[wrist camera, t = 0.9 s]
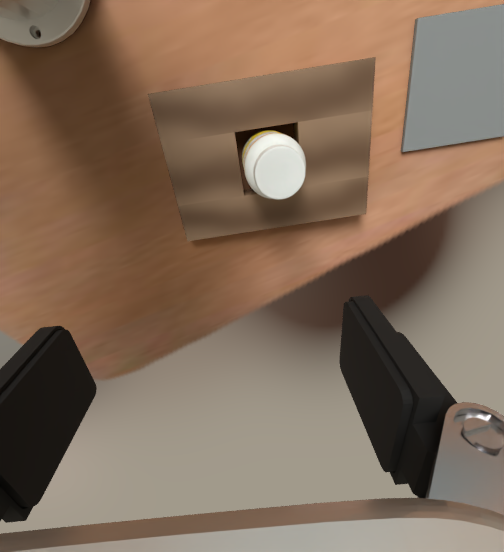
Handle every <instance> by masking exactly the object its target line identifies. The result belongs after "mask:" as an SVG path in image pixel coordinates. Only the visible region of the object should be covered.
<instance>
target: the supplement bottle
mask: <svg viewBox="0 0 504 552" xmlns="http://www.w3.org/2000/svg"><path fill="white" fill-rule="evenodd" d="M242 165H243V168H244V173H245V176H246V179H247V182H248V184H249V185H250V187H251V188H252V189H253V190H254V191H255V192H256V193H257V194H259V195H260V196H263V197H265V198H269V199H285V198H288V197H290V196H292V195H294V194H295V193H296V192H297V191H298V190H299V189H300V188H301V186H302V184H303V182H304V179H305V170H306V160H305V155H304V152H303V150H302V148H301V147H300V145H299V144H298V143H297V142H296V141H295V140H294V139H293V138H291V137H289V136H287V135H285V134H282V133H280V132H277V131H274V130H261V131H259V132H256V133H255V134H253V135H252V136H251V137H250V138H249V139H248V140H247V142H246V144H245V145H244V148H243V152H242Z"/></svg>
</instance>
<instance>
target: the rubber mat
mask: <svg viewBox="0 0 504 552" xmlns="http://www.w3.org/2000/svg"><path fill="white" fill-rule="evenodd" d="M502 136H504V4H502V5H496V6H490V7H484V8H477V9H471V10H465V11H459V12H453V13H447V14H441V15H435V16H429V17H422V18H417V19H416V20H415V28H414V38H413V47H412V56H411V65H410V74H409V83H408V92H407V101H406V110H405V120H404V129H403V138H402V147H401V152H406V151H412V150H419V149H425V148H432V147H438V146H444V145H451V144H457V143H463V142H470V141H476V140H483V139H489V138H495V137H502Z"/></svg>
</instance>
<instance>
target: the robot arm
mask: <svg viewBox="0 0 504 552" xmlns="http://www.w3.org/2000/svg"><path fill="white" fill-rule="evenodd" d="M89 4H90V0H0V39H3V40H5V41H7V42H11V43H14V44H17V45H20V46H28V47H35V48H36V47H46V46H51V45H54V44H57V43H59V42H62V41H63V40H65V39H66V38H67V37H69V36H70V35H72V34H73V33H74V32H75V30H76V29H77V28H78V27H79V25H80V24H81V23H82V21H83V19H84V17H85V15H86V12H87V10H88V8H89ZM40 31H41V37H40V36H39V32H40ZM341 337H342V338H341V349H340V368H341V371H342V374H343V376H344V378H345V381H346V383H347V386H348V388H349V390H350V393H351V395H352V397H353V400H354V402H355V405H356V407H357V410H358V412H359V414H360V417H361V419H362V422H363V424H364V426H365V429H366V431H367V433H368V436H369V438H370V440H371V443H372V446H373V448H374V450H375V453H376V455H377V458H378V460H379V462H380V465H381V467H382V468H383V470H384V471H385V472H390V474H391V476H392V478H393V480H394V483H395V485H397V484H407V483H408V484H409V486H410V488H411V490H412V492H413V494H415V495H417V496H418V497H417V498H391V499H390V498H388V499H369V500H355V501H341V502H327V503H314V504H303V505H292V506H281V507H270V508H259V509H248V510H237V511H227V512H215V513H205V514H194V515H184V516H173V517H163V518H152V519H143V520H133V521H122V522H112V523H101V524H92V525H81V526H72V527H61V528H52V529H43V530H33V531H23V532H13V533H3V534H0V552H504V416H503V415H502V414H500V413H498V412H497V411H495V410H492V409H490V408H488V407H486V406H483V405H479V404H476V403H468V402H462V403H457V402H456V401H455V399H454V398H453V397H452V396H451V394H450V393H449V392H448V391H447V389H446V388H445V387H444V385H443V384H442V383H441V382H440V380H439V379H438V378H437V377H436V375H435V374H434V373H433V372H432V370H431V369H430V368H429V366H428V365H427V364H426V362H425V361H424V360H423V359H422V357H421V356H420V355H419V354H418V352H417V351H416V350H415V348H414V347H413V346H412V345H411V344H410V342H409V341H408V340H407V338H406V337H405V336H404V335H403V334H402V333H400V332H396V331H395V330H394V328H393V327H392V325H391V324H390V323H389V322H388V320H387V319H386V318H385V316H384V315H383V314H382V312H381V311H380V310H379V308H378V307H377V306H376V304H375V303H374V302H373V300H372V299H371V298H370V297H369V296H358V297H357V296H356V297H351V298H350V299H349V302H345V303H344V309H343V323H342V336H341ZM95 394H96V384H95V382H94V380H93V378H92V376H91V374H90V372H89V370H88V368H87V366H86V364H85V362H84V360H83V358H82V356H81V354H80V352H79V350H78V348H77V346H76V344H75V342H74V340H73V338H72V336H71V334H70V332H69V331H68V330H65V329H64V328H63V327H62V326H53V327H43V328H40V329H39V330H38V331H37V332H36V333H35V334H34V335H33V336H32V337H31V338H30V339H29V340H28V341H27V342H26V343H25V344H24V345H23V346H22V347H21V348H20V349H19V350H18V351H17V352H16V353H15V354H14V356H13V357H12V358H11V359H10V360H9V361H8V362H7V363H6V364H5V365H4V366H3V367H2V368H1V369H0V521H1V519H3V520H4V521H5V522H16V521H25V520H26V519H27V517H28V515H29V514H30V512H31V510H32V508H33V506H35V505H37V504H38V502H39V501H40V500H41V498H42V496H43V494H44V492H45V491H46V488H47V486H48V485H49V483H50V481H51V479H52V477H53V475H54V473H55V471H56V469H57V468H58V465H59V463H60V462H61V460H62V458H63V456H64V454H65V452H66V450H67V448H68V446H69V444H70V443H71V441H72V439H73V437H74V435H75V433H76V431H77V429H78V427H79V425H80V423H81V421H82V419H83V418H84V416H85V414H86V412H87V410H88V408H89V406H90V404H91V402H92V400H93V399H94V397H95Z"/></svg>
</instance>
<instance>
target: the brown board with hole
mask: <svg viewBox="0 0 504 552" xmlns="http://www.w3.org/2000/svg"><path fill="white" fill-rule="evenodd" d="M374 74H375V57H374V58H368V59H361V60H355V61H349V62H343V63H337V64H331V65H324V66H318V67H312V68H306V69H300V70H294V71H287V72H281V73H275V74H269V75H263V76H256V77H250V78H244V79H238V80H232V81H226V82H219V83H213V84H207V85H201V86H195V87H189V88H182V89H176V90H170V91H164V92H158V93H151V94H148V97H149V100H150V104H151V108H152V111H153V115H154V119H155V123H156V126H157V130H158V134H159V137H160V141H161V145H162V148H163V152H164V156H165V160H166V163H167V167H168V171H169V174H170V178H171V182H172V186H173V189H174V193H175V197H176V200H177V204H178V208H179V212H180V215H181V219H182V223H183V226H184V230H185V234H186V237H187V241H193V240H200V239H206V238H213V237H219V236H226V235H232V234H239V233H245V232H252V231H258V230H265V229H271V228H278V227H284V226H291V225H297V224H304V223H310V222H317V221H323V220H330V219H336V218H343V217H349V216H356V215H362V214H366V208H367V191H368V174H369V158H370V141H371V124H372V107H373V91H374ZM289 123H293V130H294V140H295V141H296V142H297V143H298V144H299V145H300V147H301V148H302V150H303V152H304V155H305V160H306V170H305V179H304V182H303V184H302V186H301V188H300V189H299V190H298V191H297V192H296V193H295V194H294V195H292V196H290V197H288V198H285V199H269V198H265V197H263V196H260V195H259V194H257V193H256V192H255V191H254V190H253V189H249V190H243V184H242V178H241V171H240V165H239V158H238V151H237V145H236V138H235V132H239V131H245V130H251V129H257V128H264V127H270V126H276V125H283V124H289Z"/></svg>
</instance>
